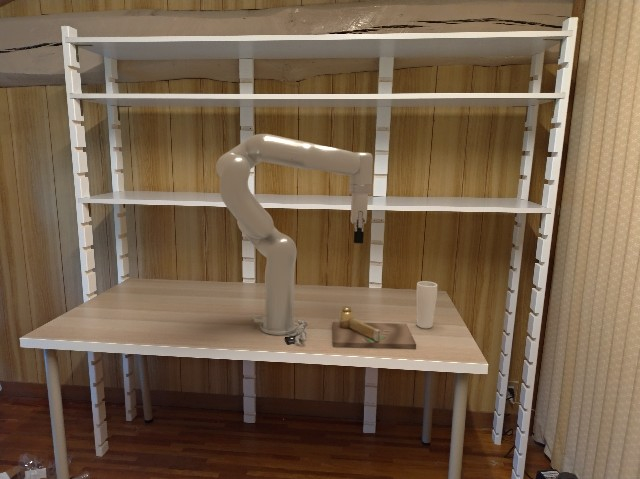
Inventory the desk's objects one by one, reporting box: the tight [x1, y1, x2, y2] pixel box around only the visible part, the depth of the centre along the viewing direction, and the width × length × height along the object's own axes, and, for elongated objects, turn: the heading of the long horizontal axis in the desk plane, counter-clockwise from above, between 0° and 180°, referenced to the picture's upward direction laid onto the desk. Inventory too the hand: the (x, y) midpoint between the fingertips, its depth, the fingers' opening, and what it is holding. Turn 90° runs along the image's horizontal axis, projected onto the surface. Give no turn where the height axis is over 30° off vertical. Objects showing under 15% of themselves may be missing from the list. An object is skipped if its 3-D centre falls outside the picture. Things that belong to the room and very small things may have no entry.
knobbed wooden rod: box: [339, 305, 381, 341], centre depth 146 cm, size 18×4×6 cm, turn 36°
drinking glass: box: [415, 280, 438, 330], centre depth 157 cm, size 7×7×15 cm
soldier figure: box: [287, 319, 309, 346], centre depth 146 cm, size 8×5×12 cm
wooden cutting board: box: [331, 321, 417, 350], centre depth 148 cm, size 25×17×2 cm
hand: (358, 242), depth 160 cm, fingers closed
